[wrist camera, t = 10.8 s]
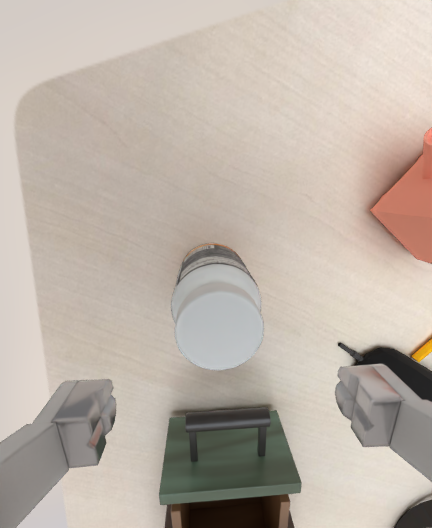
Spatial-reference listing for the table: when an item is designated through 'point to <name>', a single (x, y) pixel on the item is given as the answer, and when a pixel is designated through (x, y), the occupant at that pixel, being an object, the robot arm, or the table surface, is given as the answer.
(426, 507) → the headphones
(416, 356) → the pencil
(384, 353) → the gaming mouse
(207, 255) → the pill bottle
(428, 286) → the table surface
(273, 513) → the drawer
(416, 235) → the pink cube teapot
